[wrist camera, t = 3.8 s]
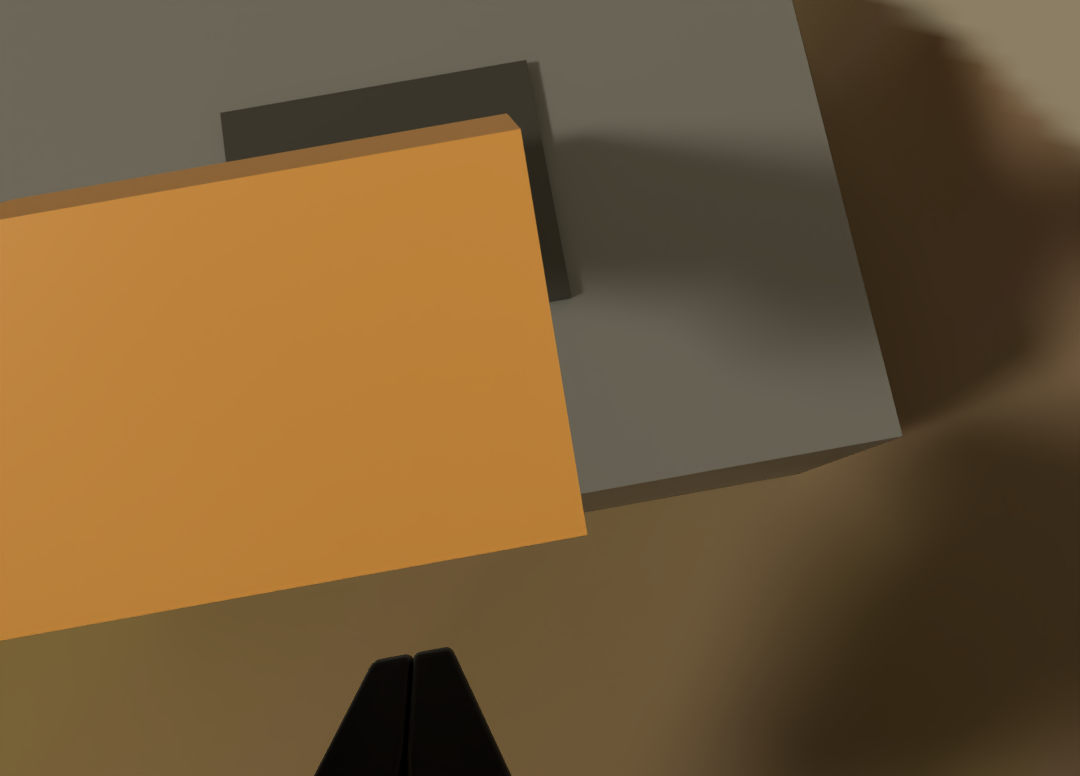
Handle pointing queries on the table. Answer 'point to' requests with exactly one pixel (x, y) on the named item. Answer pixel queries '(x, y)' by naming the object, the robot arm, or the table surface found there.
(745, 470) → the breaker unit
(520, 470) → the breaker lever
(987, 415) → the table surface
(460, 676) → the robot arm
